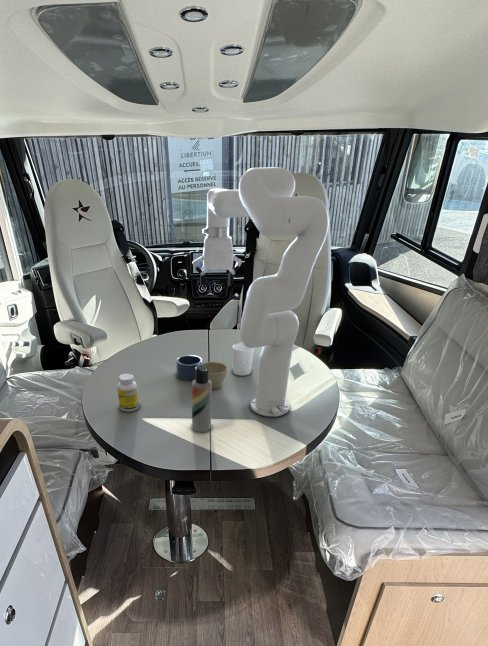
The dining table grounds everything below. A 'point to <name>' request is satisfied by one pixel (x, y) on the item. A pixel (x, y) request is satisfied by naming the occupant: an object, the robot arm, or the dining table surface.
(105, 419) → the dining table surface
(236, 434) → the dining table surface
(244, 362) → the white cup
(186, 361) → the canister
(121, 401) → the pill bottle
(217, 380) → the flower pot
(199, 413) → the lotion bottle
